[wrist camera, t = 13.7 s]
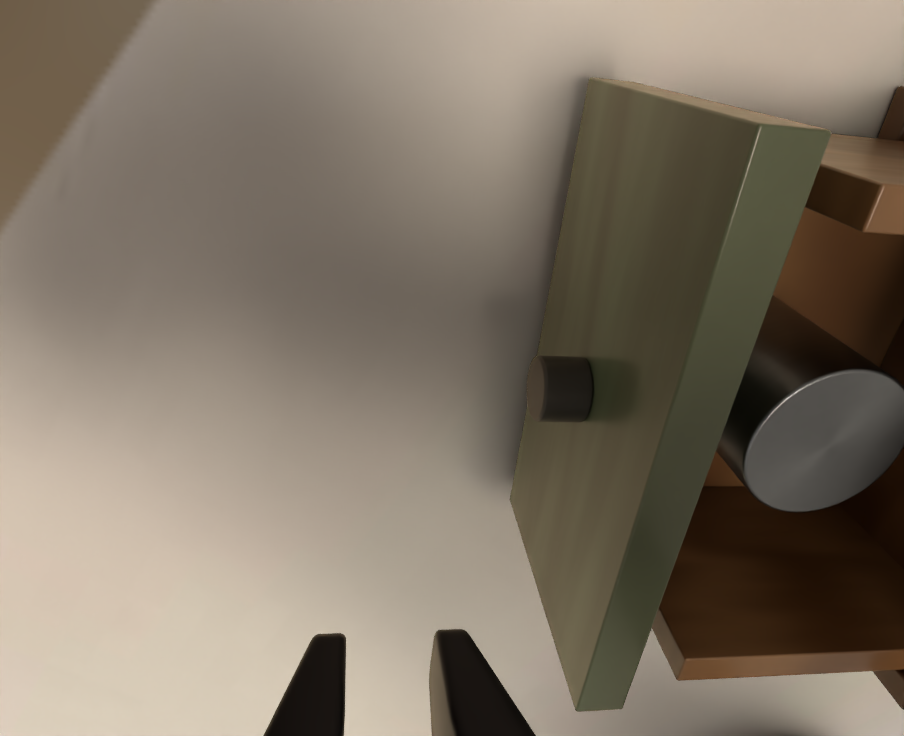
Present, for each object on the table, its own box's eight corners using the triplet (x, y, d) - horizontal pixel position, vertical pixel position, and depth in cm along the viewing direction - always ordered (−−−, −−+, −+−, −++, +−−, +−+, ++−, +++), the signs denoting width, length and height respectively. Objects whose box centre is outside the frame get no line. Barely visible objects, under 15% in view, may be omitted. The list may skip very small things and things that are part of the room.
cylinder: (640, 403, 20) (721, 514, 15) (676, 279, 18) (779, 365, 13) (760, 406, 20) (870, 514, 16) (806, 287, 18) (945, 372, 14)
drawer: (475, 499, 22) (527, 715, 15) (541, 71, 16) (680, 115, 9) (807, 499, 24) (984, 689, 17) (984, 120, 18) (1370, 186, 11)
